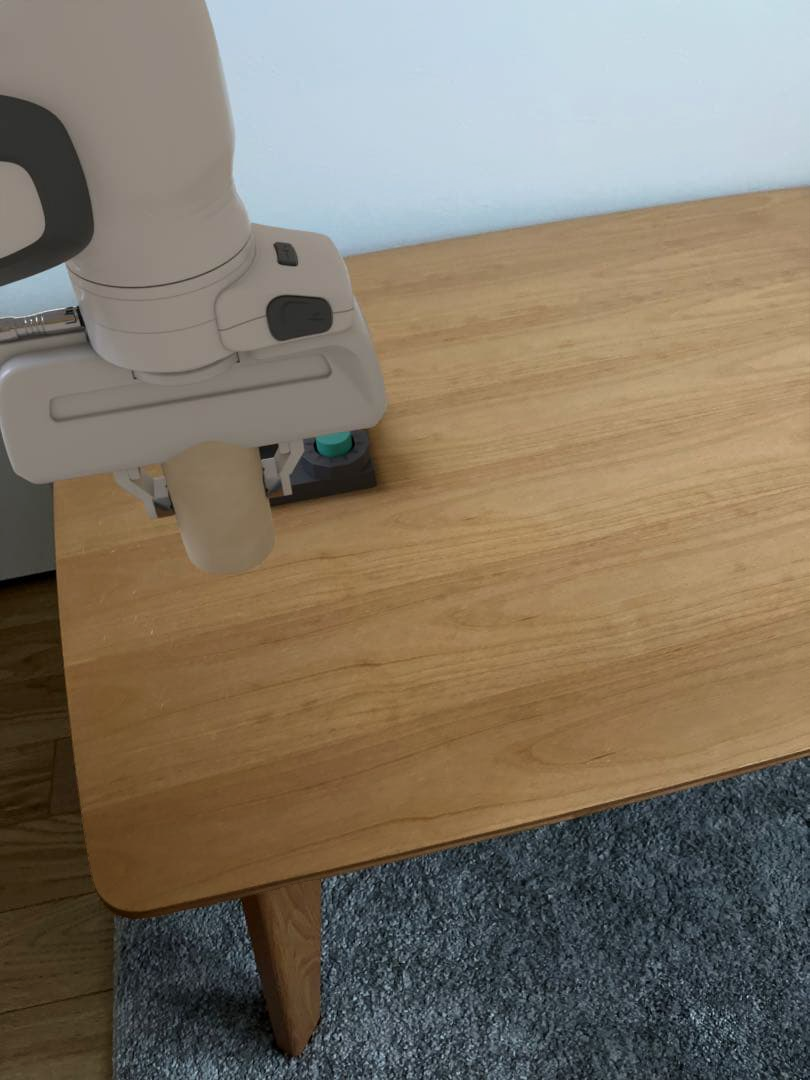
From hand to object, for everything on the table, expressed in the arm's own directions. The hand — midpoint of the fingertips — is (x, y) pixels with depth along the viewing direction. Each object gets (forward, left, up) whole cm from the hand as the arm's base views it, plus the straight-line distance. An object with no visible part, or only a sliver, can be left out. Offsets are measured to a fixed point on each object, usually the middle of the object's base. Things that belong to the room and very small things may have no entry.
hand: (221, 500), depth 59 cm
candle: (0, 0, -4) cm, 4 cm away
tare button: (+9, +22, -16) cm, 28 cm away
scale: (+4, +27, -19) cm, 33 cm away
